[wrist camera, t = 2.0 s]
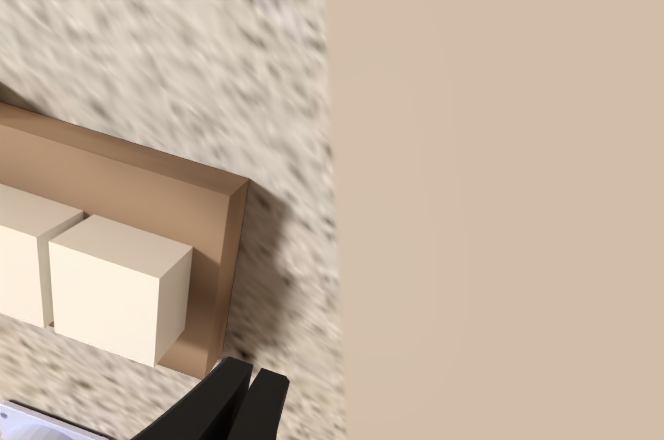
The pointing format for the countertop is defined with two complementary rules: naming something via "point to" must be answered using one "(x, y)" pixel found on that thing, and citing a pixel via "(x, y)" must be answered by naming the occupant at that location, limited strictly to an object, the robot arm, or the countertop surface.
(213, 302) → the board
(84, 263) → the tile
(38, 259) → the tile
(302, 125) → the countertop surface
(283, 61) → the countertop surface
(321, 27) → the countertop surface
